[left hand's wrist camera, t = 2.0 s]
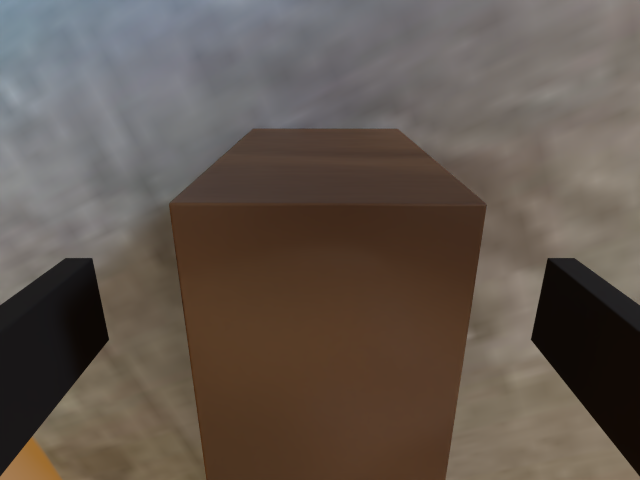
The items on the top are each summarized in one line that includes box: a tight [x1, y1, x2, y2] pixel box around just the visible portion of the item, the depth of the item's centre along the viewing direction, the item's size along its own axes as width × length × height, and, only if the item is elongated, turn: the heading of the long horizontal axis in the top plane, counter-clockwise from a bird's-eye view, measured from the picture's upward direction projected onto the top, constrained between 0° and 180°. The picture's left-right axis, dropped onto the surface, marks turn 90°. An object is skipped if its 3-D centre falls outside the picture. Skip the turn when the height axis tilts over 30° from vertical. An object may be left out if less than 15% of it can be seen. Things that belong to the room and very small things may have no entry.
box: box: [169, 129, 487, 480], centre depth 18 cm, size 27×6×11 cm, turn 0°
